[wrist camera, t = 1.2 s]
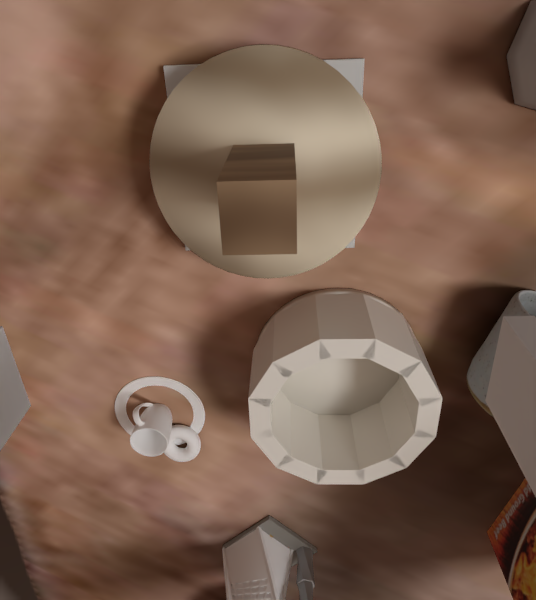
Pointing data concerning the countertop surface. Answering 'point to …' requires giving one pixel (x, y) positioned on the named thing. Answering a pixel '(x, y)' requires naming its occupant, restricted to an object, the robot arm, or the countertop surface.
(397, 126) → the countertop surface
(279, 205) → the lid
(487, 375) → the ceramic mug
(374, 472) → the bowl
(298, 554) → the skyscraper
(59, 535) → the countertop surface
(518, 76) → the flask
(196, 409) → the cup and donut ornament
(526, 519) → the pasta box
